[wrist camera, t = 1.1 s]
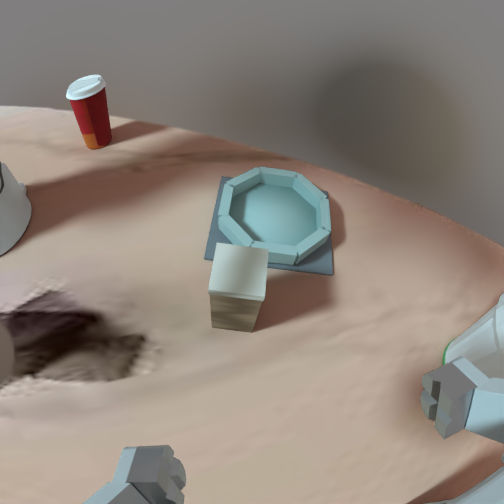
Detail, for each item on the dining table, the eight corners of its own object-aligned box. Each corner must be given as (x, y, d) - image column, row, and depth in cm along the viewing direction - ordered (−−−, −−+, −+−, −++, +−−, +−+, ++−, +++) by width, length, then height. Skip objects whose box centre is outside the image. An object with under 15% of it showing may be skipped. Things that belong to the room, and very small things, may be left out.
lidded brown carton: (211, 328, 38) (208, 289, 28) (216, 290, 41) (216, 242, 31) (252, 333, 38) (264, 296, 28) (256, 295, 41) (268, 249, 31)
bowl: (212, 258, 43) (212, 244, 40) (228, 177, 51) (229, 162, 48) (325, 272, 43) (332, 260, 40) (321, 190, 52) (326, 176, 49)
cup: (430, 323, 40) (496, 273, 28) (483, 330, 40) (546, 288, 27) (431, 403, 34) (510, 378, 21) (487, 401, 34) (559, 374, 21)
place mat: (204, 259, 43) (204, 257, 42) (221, 178, 51) (221, 176, 51) (332, 275, 43) (332, 274, 43) (326, 193, 52) (327, 191, 52)
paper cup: (116, 126, 58) (105, 70, 46) (117, 147, 54) (104, 86, 42) (82, 135, 56) (67, 81, 44) (80, 157, 52) (61, 98, 40)
